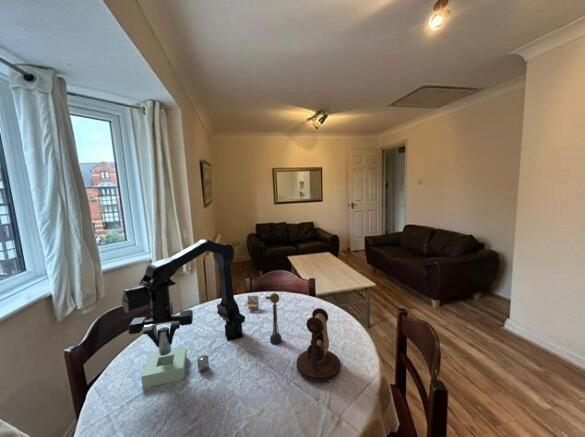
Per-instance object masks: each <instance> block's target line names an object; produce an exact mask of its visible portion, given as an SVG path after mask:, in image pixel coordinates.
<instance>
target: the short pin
mask: <svg viewBox="0 0 585 437" xmlns="http://www.w3.org/2000/svg"><path fill="white" fill-rule="evenodd" d="M196 359H197V371H198V373H201V374H202V373H206V372H208V371H209V369H210V364H209V363H210V362H209V356H208V355H207V354H203V355H202V354H201V355H200V356H198V358H196Z"/></svg>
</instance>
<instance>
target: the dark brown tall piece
mask: <svg viewBox="0 0 585 437" xmlns="http://www.w3.org/2000/svg"><path fill="white" fill-rule="evenodd" d="M328 320H329V314H328V312H327V311H326V310H325V309H324V308H321V307H317V308H315V309H313V311H312V313H311V317H310V318H308V319H307V321H306V329H307V330H308V331H309V332H310V334H311V340H310V344H309V345H308V347H307V348H306V349H307V350H305V351H303V352H302V353H300V354H299V355H298V356H297V358H296V361H295V362H296V369H297V372H298V373H299V375H300V374H301V375H300V376H302V377H303V378H306V379H308V380H311V381H317V382H323V381H328V380H330V379H331V380H332V379H333V378H335V377H337V376H338V375H339V373H340V371H341V368H342V365H341V360H340V358H339V357H338V356H337V355H336V354H335V353H333V352H332V351H330V350H329V347H330V340H329V335H328V334H329V333H328V325H327V324H328V323H327V322H328Z"/></svg>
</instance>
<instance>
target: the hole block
mask: <svg viewBox="0 0 585 437" xmlns="http://www.w3.org/2000/svg"><path fill="white" fill-rule="evenodd" d="M187 359H188V354H187V346H183V347H177V348H171V352H170V353H169V354H167V355H164V356H161V355H160V354H159V351H158V352H152V353H149V354H148V356H147V360H146V363H145V365H144V367H143V371H142V374H141V385H142V386H141V387H142V389H146V388H150V387H155V386H159V385H165V384H168V383H173V382H177V381H182V380H185V375H186V374H185V373H186V367H187Z"/></svg>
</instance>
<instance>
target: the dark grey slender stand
mask: <svg viewBox="0 0 585 437" xmlns="http://www.w3.org/2000/svg"><path fill="white" fill-rule="evenodd" d="M265 299H266V300H270V303H272V315H273V316H272V319H273V320H272V321H273V322H272V323H273V326H272V334H271V335H270V339H269V342H270V344H271V345H275V346H276V345H281V343H282V342H283V339H282V336H281V333H280V332H279V326H278V325H279V323H278V312H277V310H278V309H277V306H278V305H277V303H278V302H280V296H279V294H278V293H275V292H273V293H271V294H270V296H265Z"/></svg>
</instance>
